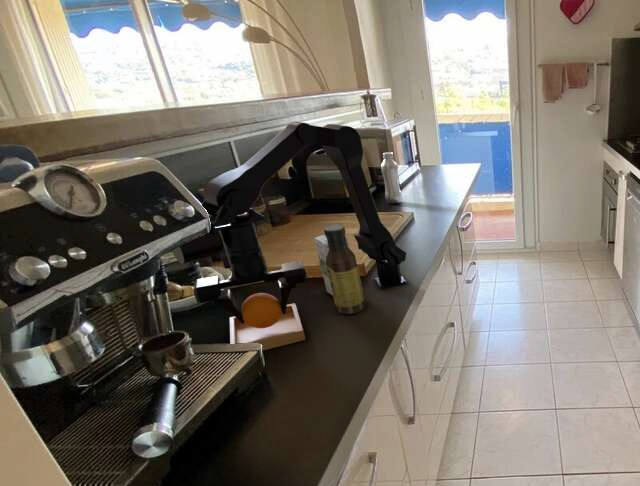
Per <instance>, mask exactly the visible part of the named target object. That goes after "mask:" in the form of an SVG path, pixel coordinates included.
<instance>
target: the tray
mask: <svg viewBox="0 0 640 486" xmlns="http://www.w3.org/2000/svg"><path fill="white" fill-rule="evenodd" d="M301 322H302V321H301V318H300V315H299V311H298V308H297V305H296V303H294V302H293V303H289V304H287V306H286V312H285V314H283V312H282V314H281V317H280V319H279V320H278V321H277V322H276V323H275V324H274V325H272V326H270V327H267V328H255V327H252V326H250V325H248V324H247V323H246V322H245V321H244V324H242V323H241V322H240V321H239V320H238V319H237V318H236V317H235V316H234V315H233V316H230V317H229V344H235V343H261V344H262V345H263V351H267V350H271V349H274V348H279V347H284V346H287V345H291V344H294V343H298V342H301V341H305V340H306V335H305V332H304V328H303V323H301Z"/></svg>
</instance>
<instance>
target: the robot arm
mask: <svg viewBox="0 0 640 486" xmlns="http://www.w3.org/2000/svg"><path fill="white" fill-rule="evenodd" d="M308 145H316V146H321V147H322V149H323V150H324V153H325V154H326V156H327V157H328V158H329V159H330V160H331V162H332V163H333V164H334V165H335V166H336V167H337V169H338V171H339V173H340V177H341V178H342V181H343V185H344V187H345V190H346V192H347V194H348V197H349V200H350V203H351V205H352V206H351V207H352V208H353V211H354V213H355V216H356V218H357V222H358V224H359V230H358V232H357V233H355V234H354V235H353V237H354V239H355V241H356V243H357V249H358V250H359V251H360V250H361V252H362V253H363V254H365V255H367V257H368V258H369V259H370V260H374V261H375V266H376V273H377V277H374V281H375V282H376V283H377V285H378V286H379V288H380V289H386V288H390V287H395V286H399V285H403V284H406V283H407V280H406V279H405V278H404V276H402V271H401V264H402V263H403V262H406V259H407V252H406V251H405V250H403V249H402V248H400V247H399V246H398V245H397V243H396V241H395V239H394V237H393V235H392V233H391V232H390V231H389V230H388V228H387V227H386V225H384V223H382V221H381V218H380V215H379V212H378V210H377V207H376V204H375V201H374V198H373V195H372V191H371V190H370V186H369V183H368V180H367V178H366V175H365V172H364V169H363V166H362V163H363V158H364V157H363V156H364V147H363V142H362V138H361V135H360V133H359V131H358V130H357V129H355V128H354V127H352V126H349V125H342V124H335V123H328V124H325V125H323V126H318V125H313V124H310V123H307V122H303V121H290V122H288V124H287V125H286V126H285V128H284V129H283V130H282V131H281V132H280V133H278V134H277V135H276V136H275V137H274V138H272V139H271V140H270V141H269V142H268V143H267V144H266V145H264V146H263V147H262V148H260V150H258V151H257V152H256V153H255V154H254V155H252V156H251V157H250V158H249V159H248V160H247V161H246V162H244V163H243V164H242V165H240V166H238V167H236V168H234V169H230V170H228V171H226V172H224V173H222V174H220V175H218V176H216V177H215V178H213V179H211V180H209V181H208V182H207V183H206V184H205V185H204V187H203V190H202V191H203V200H202V203H201V205H202V206H203V207H204V208H205V209H206V210H207V212H208V214H209V218H210V222H211V230H210V232H209V233H207V234H205V235H204V236H201V237H198V238H196V239H194V240H192V241H190V242H188V243H185V244H183V245H181V246H179V247H177V248H176V249H174V250H173V251H171V253H172V254H173V256H174V258H175V259H176V261H177V262H178V263H179V264H181V265H184V264H185V265H186V264H188V263H192V262H195V261H199V260H203V259H207V258H211V257H214V256H218V255H219V254H220V257H221V261H222V265H223V268H224V269H231V272H232V275H233V278H229V279H223V280H221V279H220V278H221V277H219V275H213V276H207V277H201V278H196V280H195V282H194V285H193V295H194V298H195V300H196V303H198V304H202V303H207V302H211V303H212V304H213V305H218V304H219V305H220V306H222V307H223V308H225V309H226V310H227V311H228V312H229V313H231V314H232V315H233V317H234V316H235V317H236V318H237V319H238V320H239V321H240V322H241V323H242V324H244V320H243V318H242V316H241V308H240V307H239V305H238V303H237V300H236V299H235V297H234V294H233V291H232V290H234V289H238V288H239V289H240V288H245V287H250V286H255V285H260V284H265V283H269V282H275V281H277V285H278V291H279V292H278V293H279V302H280V304H281V308H282V312H283V314H285V312H286V306H287V305H288V300H289V296H290V294H291V291H292V289H295V288H297V284H302V283H306V282H308V276H307V272H306V268H305V266H304V264H303V262H301V261H299V260H297V261H290V262H285V263H281V264H280V267H281V269H278V270H273V271H268V266H267V262H266V259H265V256H264V253H263V250H262V246H261V243H260V238H259V236H258V232H257V229H256V225H255V223H256V222H260V221H265V220H266V216H265V215H263V214H261V213H260V212H257V211H256V209H254V208H252V207H253V206H254V204H255V202H256V201H257V200H258V199H259V197H260V195H261V192H262V189H263V187H264V186H265V185H266V184H267V182H268V181H269V180H270V179H272V177H274V176H275V175H276V174H277V173H278V172H279V171H280V170H281V169H282V168H284V167H285V166H286V165H287V164H288V163H289V162H291V160H293V159H294V158H295V157H296V156H297V155H298V154H299V153H301V151H302V150H304V149H305V148H306V147H307V146H308ZM217 212H218V213H217ZM223 248H224V249H223ZM224 250H225V252H223V251H224ZM220 252H221V253H220Z"/></svg>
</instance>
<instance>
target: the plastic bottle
mask: <svg viewBox="0 0 640 486" xmlns="http://www.w3.org/2000/svg"><path fill="white" fill-rule="evenodd" d="M382 158H383V161H382V162H381V163H380V169H381V170H380V171H381V174H382V177H383V182H384V188H385V189H384V191H385V193H384V199H385V201H386V202H387V203H388V204H399V203H401V202H402V200H403V195H402V191H401V187H400V183H399V166H398V163H397V162H396V161H395V159H394V153H393V152H388V151H387V152H383V153H382Z"/></svg>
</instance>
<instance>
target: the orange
mask: <svg viewBox="0 0 640 486" xmlns="http://www.w3.org/2000/svg"><path fill="white" fill-rule="evenodd" d="M240 311H241V316H242V318H243V320H244V321H245V322H246V323H247V324H248V325H250V326H252V327H255V328H267V327H270V326H272V325H274V324H275V323H276V322H277V321H278V320H279V319H280V317H281V314H282V308H281V303H280V300H279V299H278V298H277V297H276V296H274V295H272V294H270V293H266V292H258V293H254V294H251V295H249V296H248V297H247V298H246V299H244V301H243V302H242V304H241V306H240Z"/></svg>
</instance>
